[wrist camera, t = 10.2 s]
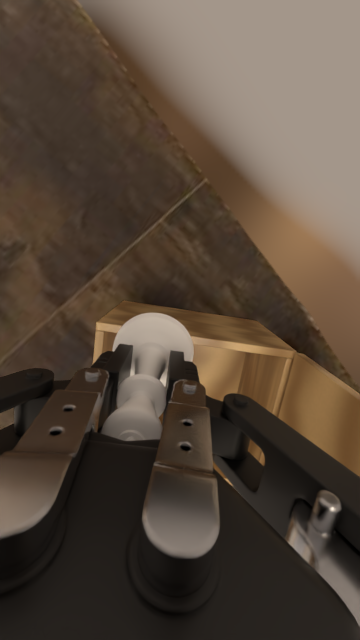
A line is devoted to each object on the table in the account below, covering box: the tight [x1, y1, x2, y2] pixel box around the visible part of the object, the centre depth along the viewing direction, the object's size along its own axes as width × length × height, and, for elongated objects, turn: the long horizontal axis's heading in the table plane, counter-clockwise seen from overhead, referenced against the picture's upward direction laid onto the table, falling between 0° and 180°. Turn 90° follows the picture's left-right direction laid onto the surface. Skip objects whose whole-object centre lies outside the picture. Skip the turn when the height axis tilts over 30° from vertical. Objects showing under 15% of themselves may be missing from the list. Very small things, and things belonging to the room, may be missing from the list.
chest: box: [93, 300, 297, 486], centre depth 32 cm, size 19×16×12 cm
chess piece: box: [101, 313, 194, 441], centre depth 11 cm, size 5×5×10 cm
